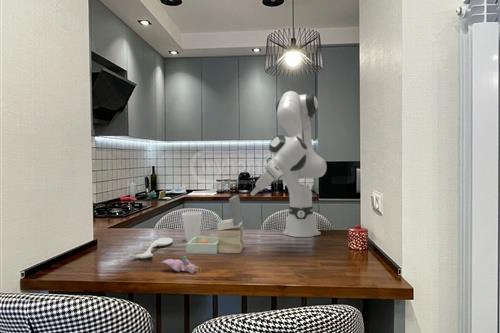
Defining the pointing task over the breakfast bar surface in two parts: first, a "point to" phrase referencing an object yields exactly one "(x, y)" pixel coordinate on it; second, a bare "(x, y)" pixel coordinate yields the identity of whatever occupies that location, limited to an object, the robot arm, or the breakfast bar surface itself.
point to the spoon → (157, 242)
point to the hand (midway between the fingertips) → (253, 193)
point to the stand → (230, 240)
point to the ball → (203, 241)
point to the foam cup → (192, 224)
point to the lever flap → (233, 215)
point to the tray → (202, 246)
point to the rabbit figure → (182, 265)
